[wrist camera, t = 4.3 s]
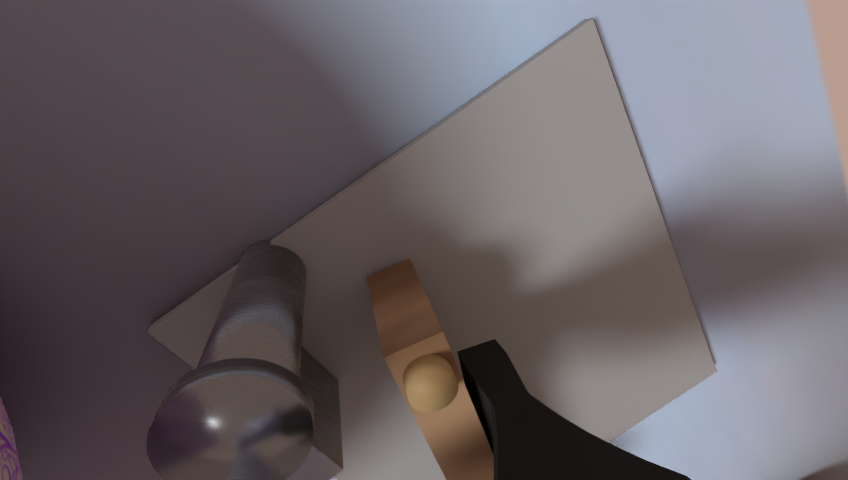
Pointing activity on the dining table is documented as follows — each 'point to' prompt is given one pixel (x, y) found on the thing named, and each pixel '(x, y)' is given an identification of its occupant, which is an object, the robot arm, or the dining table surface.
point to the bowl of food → (8, 449)
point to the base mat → (497, 262)
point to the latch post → (253, 388)
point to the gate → (428, 374)
